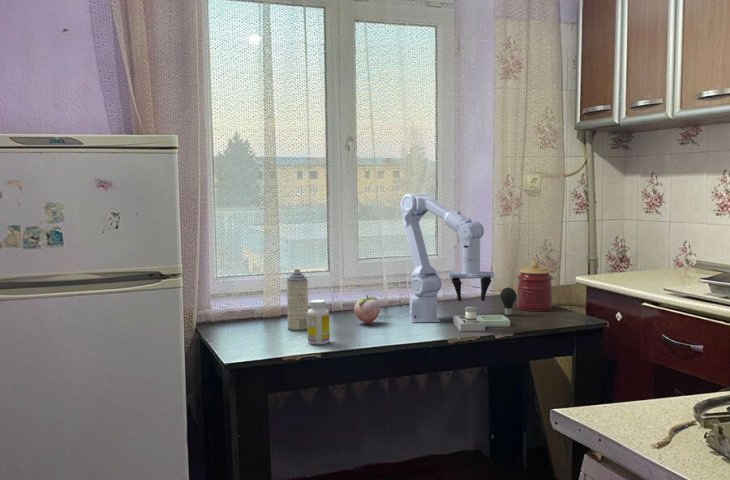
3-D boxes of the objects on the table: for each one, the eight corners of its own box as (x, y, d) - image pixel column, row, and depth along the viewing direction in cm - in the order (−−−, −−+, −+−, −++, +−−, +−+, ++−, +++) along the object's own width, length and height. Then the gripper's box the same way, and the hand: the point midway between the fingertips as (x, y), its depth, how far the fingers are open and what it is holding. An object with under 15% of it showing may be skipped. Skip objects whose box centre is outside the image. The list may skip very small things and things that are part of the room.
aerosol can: (312, 327, 234) (311, 268, 232) (302, 332, 228) (301, 271, 226) (294, 325, 237) (293, 267, 235) (284, 330, 230) (282, 269, 228)
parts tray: (482, 327, 232) (482, 321, 232) (476, 321, 241) (476, 315, 241) (510, 326, 232) (510, 320, 232) (503, 320, 241) (503, 314, 241)
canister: (510, 306, 266) (510, 260, 264) (540, 304, 270) (541, 258, 268) (528, 313, 254) (528, 264, 252) (559, 310, 258) (560, 262, 256)
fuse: (466, 330, 227) (466, 309, 227) (464, 327, 231) (464, 306, 230) (477, 330, 228) (477, 308, 227) (475, 327, 231) (475, 306, 231)
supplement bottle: (329, 339, 217) (329, 298, 216) (329, 344, 210) (328, 302, 209) (308, 340, 217) (307, 299, 215) (307, 345, 210) (306, 303, 209)
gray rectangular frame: (460, 331, 226) (460, 323, 226) (453, 322, 239) (453, 315, 239) (485, 330, 226) (485, 323, 226) (476, 322, 239) (476, 315, 239)
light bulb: (515, 313, 252) (515, 286, 251) (517, 317, 247) (517, 289, 246) (499, 313, 253) (499, 286, 252) (500, 316, 247) (501, 288, 246)
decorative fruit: (363, 320, 244) (363, 291, 243) (384, 322, 240) (383, 293, 239) (349, 325, 236) (348, 296, 235) (370, 328, 232) (369, 298, 231)
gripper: (451, 261, 223) (451, 303, 224) (496, 260, 223) (496, 302, 225) (447, 258, 230) (447, 299, 231) (491, 257, 230) (490, 298, 232)
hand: (471, 300), depth 228 cm, fingers open, 7 cm apart
